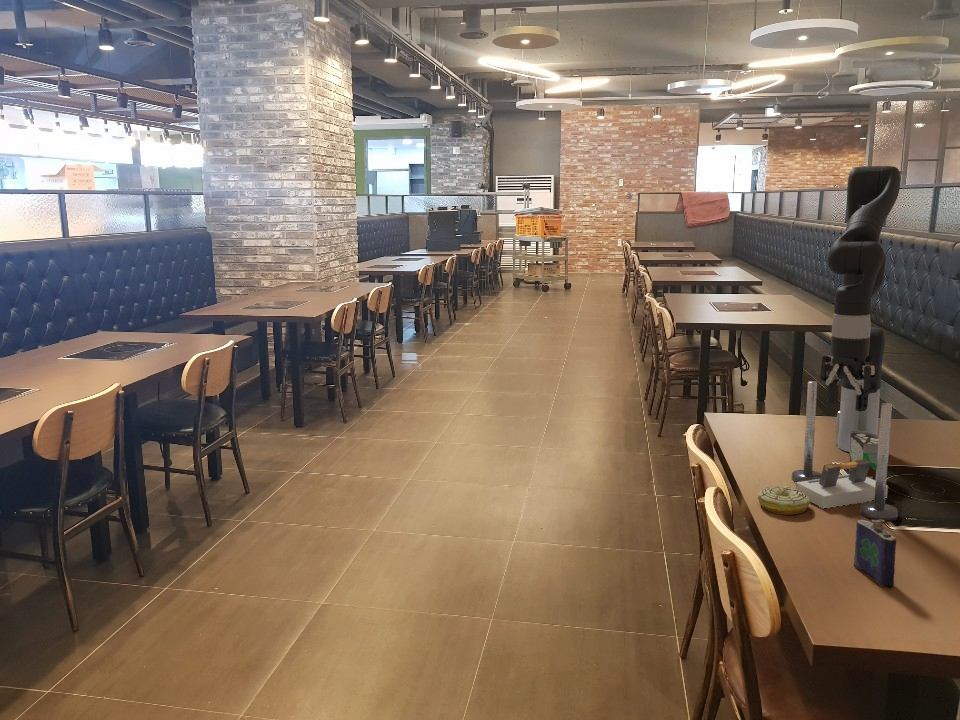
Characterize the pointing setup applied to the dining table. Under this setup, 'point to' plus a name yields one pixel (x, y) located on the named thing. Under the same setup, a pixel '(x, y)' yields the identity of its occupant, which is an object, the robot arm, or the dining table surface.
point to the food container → (864, 449)
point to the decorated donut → (783, 500)
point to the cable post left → (808, 438)
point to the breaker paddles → (833, 470)
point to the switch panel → (839, 492)
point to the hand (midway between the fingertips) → (846, 406)
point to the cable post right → (881, 473)
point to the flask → (875, 552)
